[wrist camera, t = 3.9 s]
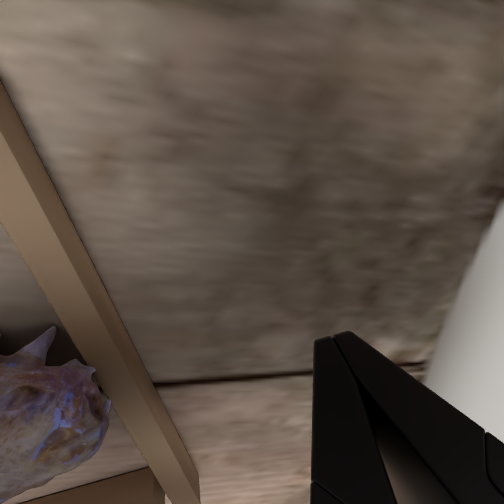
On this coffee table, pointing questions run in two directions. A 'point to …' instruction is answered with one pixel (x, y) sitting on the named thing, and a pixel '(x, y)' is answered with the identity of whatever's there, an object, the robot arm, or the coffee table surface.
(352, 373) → the robot arm
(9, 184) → the rail notch
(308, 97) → the coffee table surface
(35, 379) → the skull
